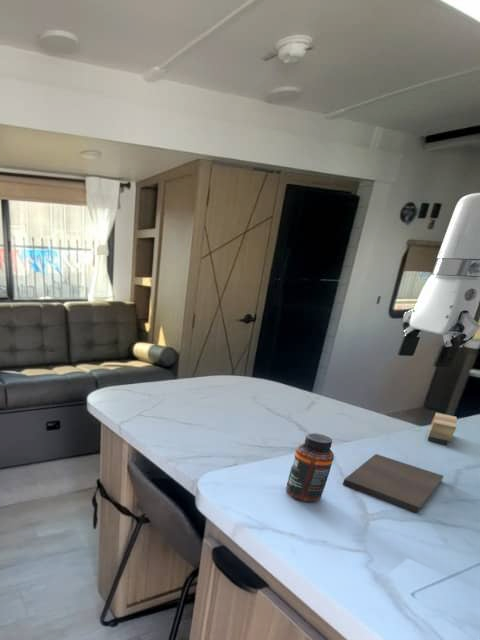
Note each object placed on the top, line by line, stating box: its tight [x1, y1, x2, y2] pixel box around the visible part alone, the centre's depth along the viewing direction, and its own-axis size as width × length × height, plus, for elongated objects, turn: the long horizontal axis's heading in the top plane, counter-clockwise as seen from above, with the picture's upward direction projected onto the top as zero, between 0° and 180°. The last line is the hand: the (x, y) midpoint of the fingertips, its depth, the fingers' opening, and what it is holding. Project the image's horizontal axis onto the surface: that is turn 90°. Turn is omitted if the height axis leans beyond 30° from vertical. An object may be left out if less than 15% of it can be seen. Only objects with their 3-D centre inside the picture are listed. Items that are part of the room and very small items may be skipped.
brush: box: [427, 412, 458, 446], centre depth 100 cm, size 10×4×5 cm, turn 140°
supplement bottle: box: [285, 432, 335, 503], centre depth 71 cm, size 6×6×11 cm
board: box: [342, 453, 444, 514], centre depth 79 cm, size 18×12×1 cm, turn 131°
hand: (422, 360), depth 83 cm, fingers open, 9 cm apart
